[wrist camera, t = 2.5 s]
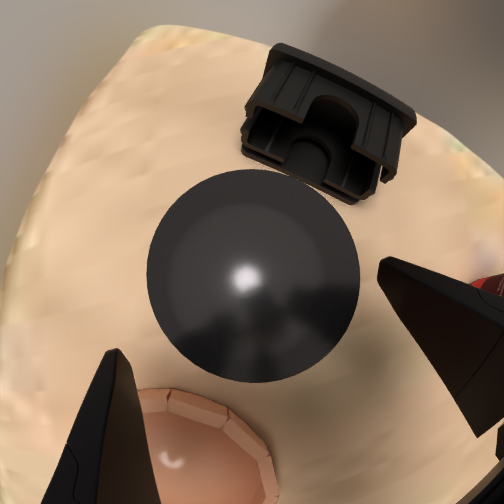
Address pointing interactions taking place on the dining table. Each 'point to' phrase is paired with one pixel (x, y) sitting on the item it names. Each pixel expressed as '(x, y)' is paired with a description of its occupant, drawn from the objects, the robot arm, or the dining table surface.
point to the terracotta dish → (204, 451)
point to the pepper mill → (253, 276)
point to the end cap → (324, 125)
